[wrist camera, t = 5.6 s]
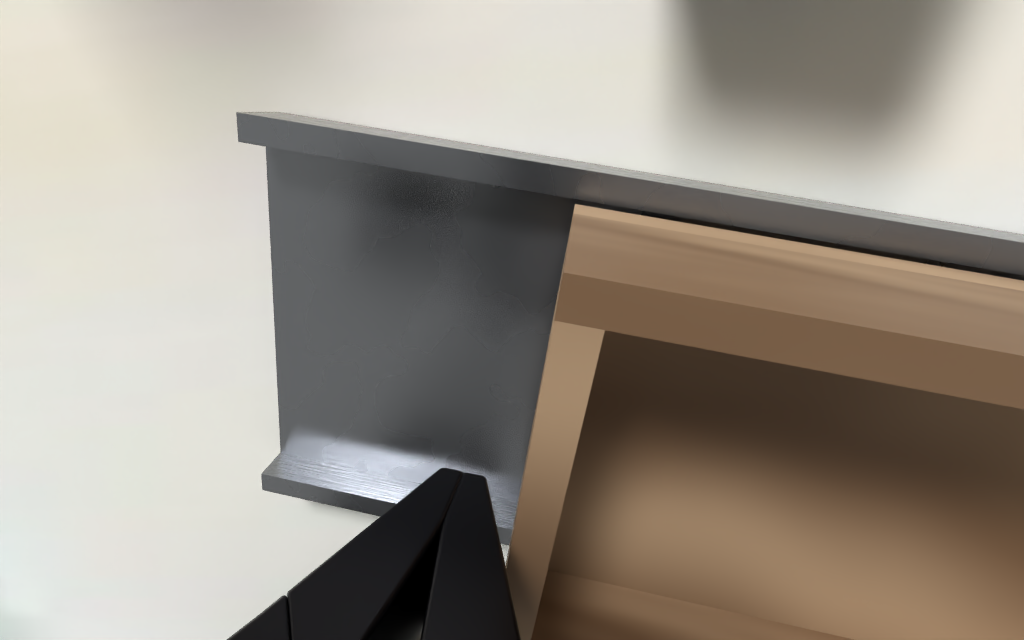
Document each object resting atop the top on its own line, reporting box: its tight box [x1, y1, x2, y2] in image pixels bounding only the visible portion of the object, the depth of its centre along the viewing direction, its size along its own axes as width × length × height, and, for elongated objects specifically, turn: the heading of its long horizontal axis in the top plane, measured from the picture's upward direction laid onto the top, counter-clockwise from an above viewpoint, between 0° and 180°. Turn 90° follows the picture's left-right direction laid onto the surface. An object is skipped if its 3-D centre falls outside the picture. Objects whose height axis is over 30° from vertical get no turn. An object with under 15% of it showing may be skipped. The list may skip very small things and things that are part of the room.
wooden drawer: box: [506, 204, 1024, 640], centre depth 10 cm, size 9×13×6 cm
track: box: [237, 112, 1024, 545], centre depth 13 cm, size 10×21×2 cm, turn 81°
